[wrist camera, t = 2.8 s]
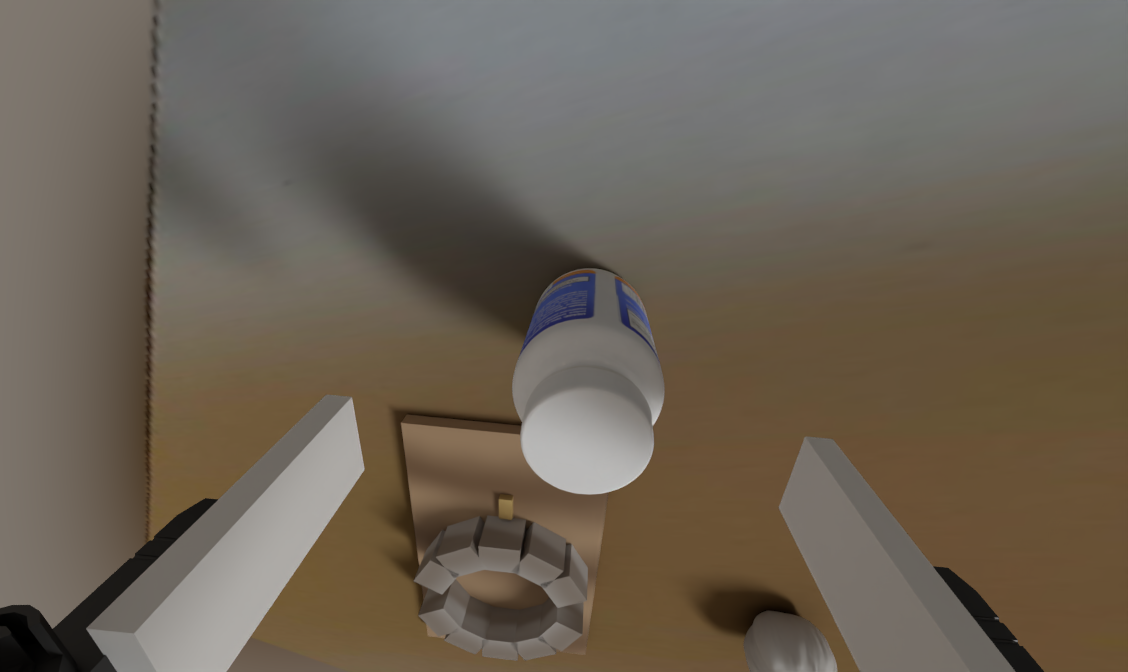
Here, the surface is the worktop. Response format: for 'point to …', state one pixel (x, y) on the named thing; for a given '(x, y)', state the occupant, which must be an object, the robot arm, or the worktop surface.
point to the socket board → (473, 490)
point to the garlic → (786, 645)
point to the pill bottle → (588, 384)
